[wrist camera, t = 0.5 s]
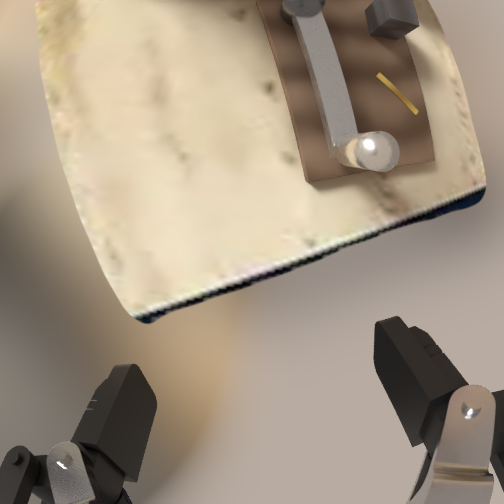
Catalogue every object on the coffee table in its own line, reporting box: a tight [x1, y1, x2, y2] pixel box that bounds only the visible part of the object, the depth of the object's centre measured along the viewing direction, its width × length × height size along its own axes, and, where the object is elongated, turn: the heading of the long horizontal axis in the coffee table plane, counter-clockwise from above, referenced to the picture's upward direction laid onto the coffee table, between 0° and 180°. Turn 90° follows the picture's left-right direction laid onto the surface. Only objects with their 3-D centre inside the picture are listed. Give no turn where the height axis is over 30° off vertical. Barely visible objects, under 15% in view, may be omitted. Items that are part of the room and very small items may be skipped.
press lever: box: [280, 0, 400, 172], centre depth 22 cm, size 22×4×12 cm, turn 14°
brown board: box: [256, 0, 435, 182], centre depth 25 cm, size 25×18×8 cm
